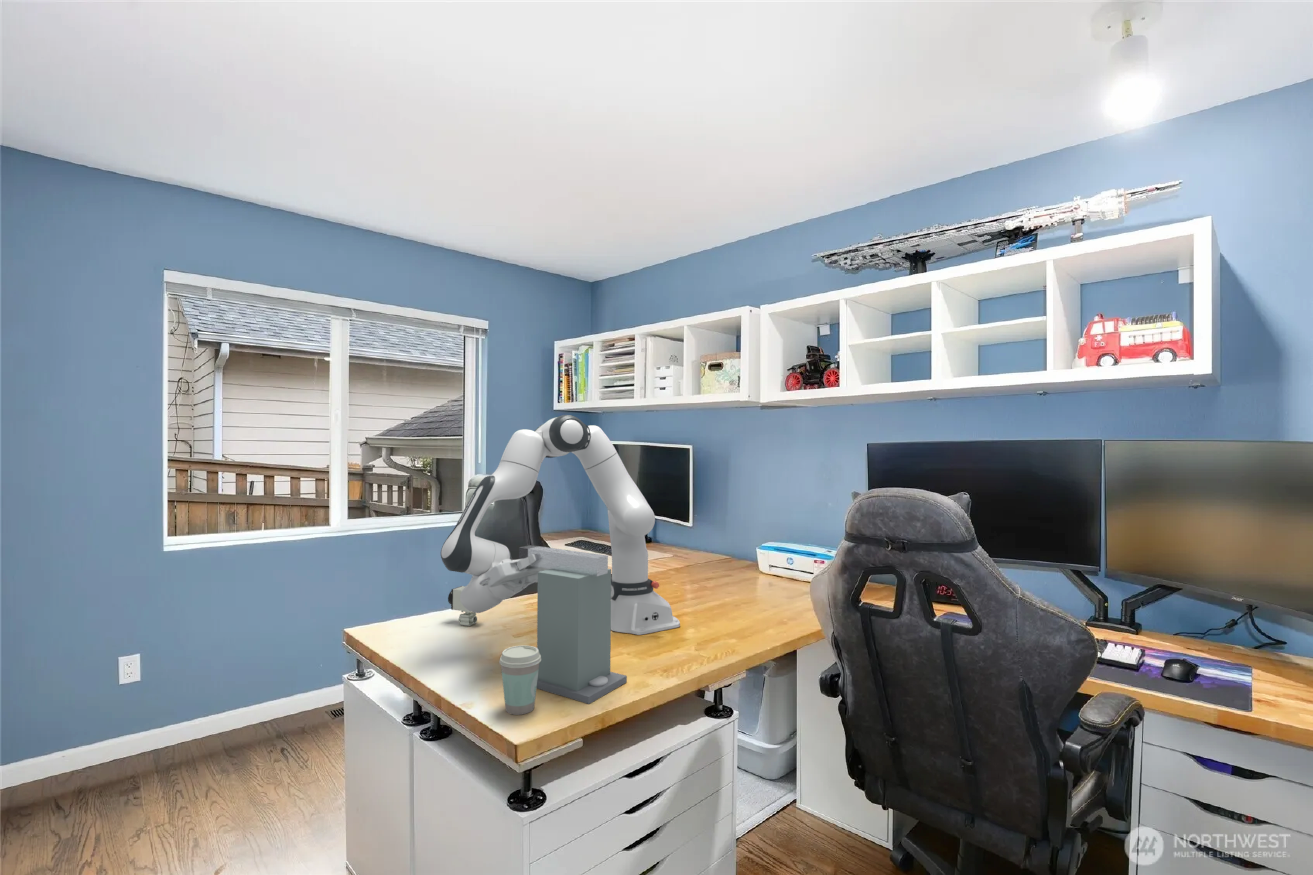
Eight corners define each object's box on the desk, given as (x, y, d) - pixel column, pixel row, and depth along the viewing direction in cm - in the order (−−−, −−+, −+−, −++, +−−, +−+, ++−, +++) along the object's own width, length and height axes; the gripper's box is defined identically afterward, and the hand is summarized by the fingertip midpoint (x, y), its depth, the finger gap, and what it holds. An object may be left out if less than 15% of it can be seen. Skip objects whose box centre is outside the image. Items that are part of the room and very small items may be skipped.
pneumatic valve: (479, 628, 180) (479, 588, 180) (447, 624, 184) (447, 585, 184) (490, 623, 185) (490, 584, 185) (459, 619, 189) (459, 581, 189)
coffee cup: (538, 717, 122) (538, 658, 122) (495, 718, 121) (495, 658, 122) (542, 699, 131) (543, 644, 131) (502, 700, 130) (503, 644, 130)
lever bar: (518, 563, 147) (519, 547, 147) (530, 561, 150) (530, 545, 150) (596, 576, 134) (597, 558, 134) (607, 573, 137) (607, 555, 137)
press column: (533, 687, 137) (534, 572, 137) (573, 668, 149) (574, 562, 149) (588, 703, 128) (589, 581, 129) (626, 682, 140) (627, 570, 141)
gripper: (471, 573, 144) (507, 549, 137) (531, 559, 161) (566, 538, 155) (480, 598, 142) (517, 575, 136) (540, 581, 159) (575, 560, 153)
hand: (543, 555), depth 145 cm, fingers closed on lever bar, 4 cm apart
